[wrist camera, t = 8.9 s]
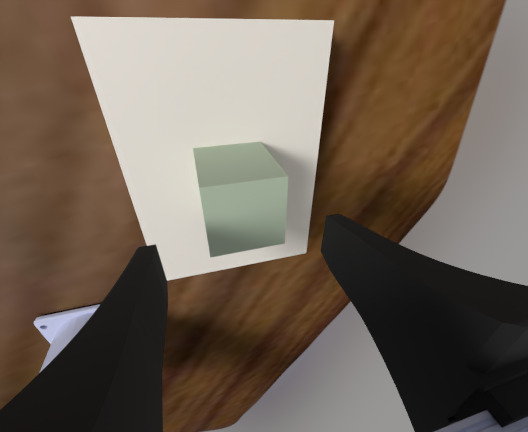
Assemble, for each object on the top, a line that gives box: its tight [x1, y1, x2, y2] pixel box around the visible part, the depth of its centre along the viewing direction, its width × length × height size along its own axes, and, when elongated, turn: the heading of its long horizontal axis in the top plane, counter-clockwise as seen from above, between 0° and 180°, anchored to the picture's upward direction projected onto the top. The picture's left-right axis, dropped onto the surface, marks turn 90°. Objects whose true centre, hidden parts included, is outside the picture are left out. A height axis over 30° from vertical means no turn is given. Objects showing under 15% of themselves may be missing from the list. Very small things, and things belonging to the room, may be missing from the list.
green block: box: [193, 142, 288, 258], centre depth 15 cm, size 4×4×5 cm
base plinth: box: [71, 17, 334, 281], centre depth 18 cm, size 16×12×3 cm
